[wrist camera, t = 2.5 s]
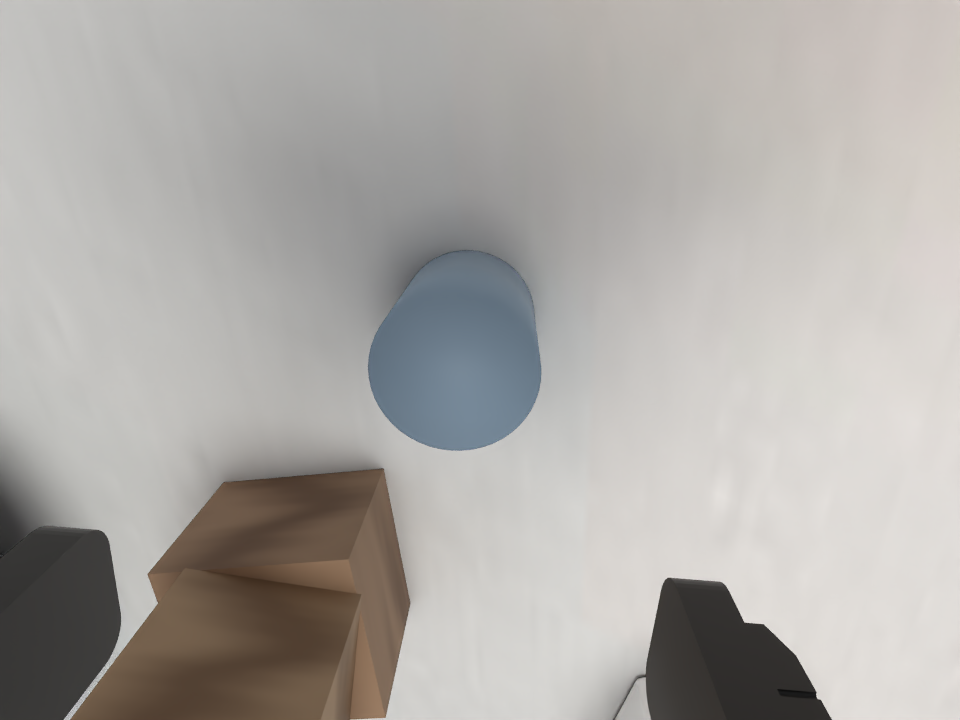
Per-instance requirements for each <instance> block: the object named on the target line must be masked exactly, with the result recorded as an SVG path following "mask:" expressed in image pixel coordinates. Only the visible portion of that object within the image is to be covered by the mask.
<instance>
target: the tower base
mask: <svg viewBox="0 0 960 720" xmlns="http://www.w3.org/2000/svg"><path fill="white" fill-rule="evenodd" d="M185 568H188V569H195V570H201V571H208V572H215V573H222V574H228V575H235V576H242V577H248V578H255V579H262V580H269V581H275V582H282V583H289V584H295V585H302V586H309V587H316V588H322V589H329V590H336V591H342V592H349V593H356V594H362V596H361V606H360V617H359V628H358V638H357V649H356V659H355V670H354V681H353V691H352V702H351V712H350V719H368V718H386V713H387V708H388V704H389V699H390V695H391V690H392V685H393V681H394V676H395V672H396V667H397V662H398V658H399V653H400V648H401V644H402V639H403V635H404V630H405V625H406V621H407V616H408V612H409V607H410V599H409V594H408V589H407V584H406V579H405V574H404V569H403V564H402V559H401V554H400V549H399V544H398V539H397V534H396V529H395V524H394V519H393V514H392V509H391V504H390V499H389V494H388V489H387V484H386V479H385V474H384V469H374V470H363V471H351V472H339V473H328V474H316V475H304V476H293V477H281V478H269V479H258V480H246V481H234V482H224V483H223V484H222V485H221V486H220V487H219V489H218V490H217V491H216V492H215V493H214V495H213V496H212V497H211V498H210V500H209V501H208V502H207V503H206V504H205V506H204V507H203V508H202V509H201V510H200V512H199V513H198V514H197V515H196V516H195V518H194V519H193V520H192V521H191V522H190V524H189V525H188V526H187V527H186V528H185V530H184V531H183V532H182V533H181V534H180V536H179V537H178V538H177V539H176V540H175V542H174V543H173V544H172V545H171V546H170V548H169V549H168V550H167V551H166V553H165V554H164V555H163V556H162V557H161V559H160V560H159V561H158V562H157V563H156V565H155V566H154V567H153V568H152V569H151V571H150V572H149V573H148V577H149V580H150V582H151V585H152V588H153V591H154V593H155V596H156V599H157V601H158V603H159V602H160V600H161V599H162V598H163V596H164V595H165V594H166V592H167V591H168V590H169V588H170V587H171V586H172V585H173V583H174V582H175V581H176V579H177V578H178V577H179V575H180V574H181V573H182V571H183V570H184V569H185Z"/></svg>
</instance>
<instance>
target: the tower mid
mask: <svg viewBox="0 0 960 720" xmlns="http://www.w3.org/2000/svg"><path fill="white" fill-rule="evenodd" d="M361 596H362V594H356V593H349V592H342V591H336V590H329V589H322V588H316V587H309V586H302V585H295V584H289V583H282V582H275V581H269V580H262V579H255V578H248V577H242V576H235V575H228V574H222V573H215V572H208V571H201V570H195V569H188V568H185V569H184V570H183V571H182V573H181V574H180V575H179V577H178V578H177V579H176V581H175V582H174V583H173V585H172V586H171V587H170V588H169V590H168V591H167V592H166V594H165V595H164V596H163V598H162V599H161V600H160V602H159V603H158V604H157V606H156V607H155V608H154V610H153V611H152V612H151V614H150V615H149V616H148V618H147V619H146V620H145V622H144V623H143V624H142V626H141V627H140V628H139V629H138V631H137V632H136V633H135V635H134V636H133V637H132V639H131V640H130V641H129V643H128V644H127V645H126V647H125V648H124V649H123V651H122V652H121V653H120V655H119V656H118V657H117V659H116V660H115V661H114V663H113V664H112V665H111V667H110V668H109V669H108V670H107V672H106V673H105V674H104V676H103V677H102V678H101V680H100V681H99V682H98V684H97V685H96V686H95V688H94V689H93V690H92V692H91V693H90V694H89V696H88V697H87V698H86V700H85V701H84V702H83V704H82V705H81V706H80V708H79V709H78V710H77V711H76V713H75V714H74V715H73V717H72V718H71V719H70V720H350V712H351V702H352V691H353V681H354V670H355V659H356V649H357V638H358V628H359V617H360V606H361Z"/></svg>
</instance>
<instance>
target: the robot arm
mask: <svg viewBox="0 0 960 720" xmlns="http://www.w3.org/2000/svg"><path fill="white" fill-rule="evenodd" d="M120 626H121V612H120V606H119V600H118V594H117V588H116V582H115V575H114V569H113V563H112V557H111V551H110V545H109V541H108V538H107V536H106V535H105V534H104V533H103V532H102V531H99V530H91V529H79V528H66V527H54V526H43V527H40V528H38V529H36V530H34V531H33V532H32V533H30V534H29V535H28V536H27V537H26V538H24V539H23V540H22V541H21V542H20V543H18V544H17V545H16V546H15V547H14V548H12V549H11V550H10V551H9V552H8V553H6V554H5V555H4V556H3V557H2V558H0V720H64V718H65V717H66V716H67V714H68V713H69V712H70V710H71V709H72V708H73V706H74V705H75V704H76V702H77V701H78V700H79V699H80V697H81V696H82V695H83V693H84V692H85V691H86V689H87V688H88V687H89V685H90V684H91V683H92V681H93V680H94V679H95V678H96V676H97V675H98V674H99V672H100V671H101V670H102V668H103V667H104V666H105V664H106V663H107V661H108V660H109V658H110V656H111V655H112V652H113V650H114V648H115V646H116V643H117V640H118V636H119V632H120ZM646 695H647V703H648V708H649V713H650V717H651V720H832V719H831V717H830V716H829V714H828V712H827V710H826V709H825V707H824V705H823V703H822V701H821V700H818V699H817V697H816V691H815V689H814V687H813V685H812V684H811V682H810V680H809V678H808V676H807V675H806V673H805V671H804V669H803V667H802V666H801V664H800V662H799V660H798V659H797V657H796V655H795V654H794V653H793V652H792V651H791V650H789V649H788V648H787V647H786V646H785V645H784V644H783V643H782V642H781V641H780V640H779V639H778V638H777V637H776V636H775V635H774V634H773V633H772V632H771V631H770V630H769V629H768V628H767V627H766V626H765V625H764V624H752V623H744V621H743V619H742V617H741V615H740V613H739V611H738V609H737V607H736V605H735V603H734V601H733V599H732V597H731V594H730V592H729V591H728V589H727V587H726V586H725V585H724V584H723V583H722V582H715V581H703V580H690V579H678V578H667V579H666V580H665V581H664V583H663V586H662V590H661V594H660V599H659V604H658V609H657V614H656V619H655V624H654V628H653V633H652V638H651V643H650V648H649V653H648V658H647V665H646Z"/></svg>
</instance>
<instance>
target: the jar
mask: <svg viewBox="0 0 960 720" xmlns="http://www.w3.org/2000/svg"><path fill="white" fill-rule="evenodd" d="M615 720H651V717H650V713H649V708H648V703H647V695H646V677H643V678H638V679H637V680H636V682H635V684H634V685H633V687H632V689H631V691H630V693H629V695H628V696H627V698H626V700H625V702H624V704H623V706H622V707H621V709H620V711H619V713H618V715H617V717H616V718H615Z"/></svg>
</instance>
